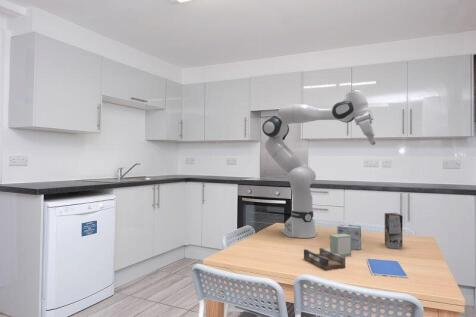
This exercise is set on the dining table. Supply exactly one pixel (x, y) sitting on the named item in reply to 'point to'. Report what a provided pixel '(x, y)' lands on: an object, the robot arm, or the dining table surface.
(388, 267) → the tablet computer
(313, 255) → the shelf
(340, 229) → the light bulb box
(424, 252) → the dining table surface
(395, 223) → the coffee box
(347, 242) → the plain green carton
